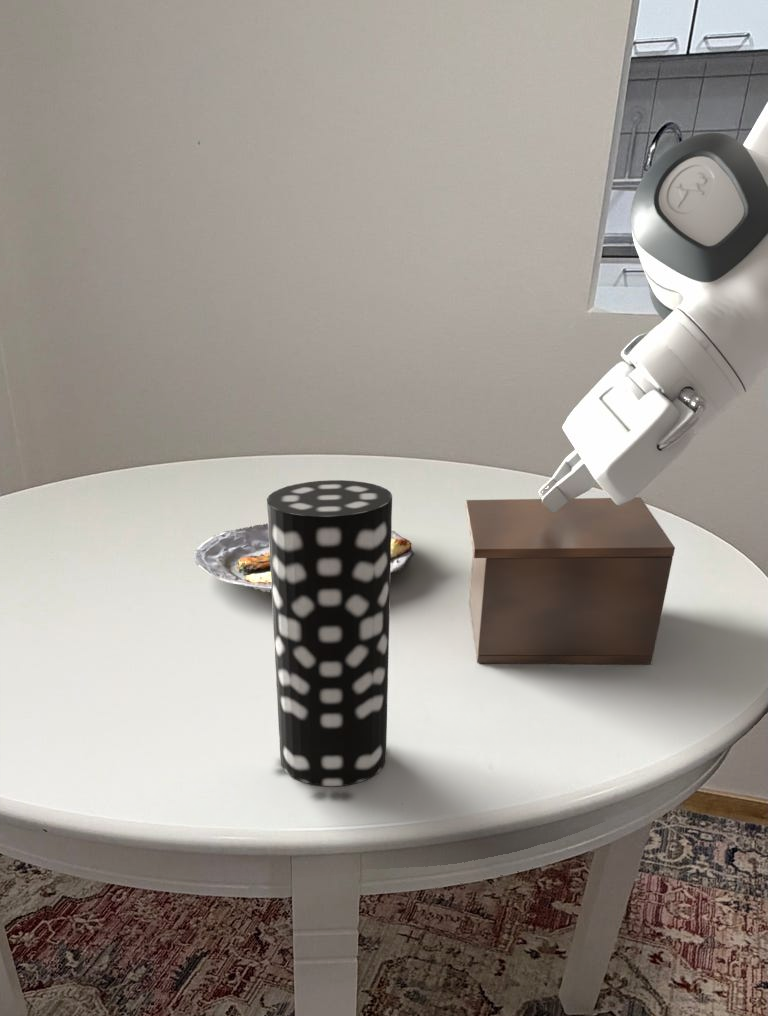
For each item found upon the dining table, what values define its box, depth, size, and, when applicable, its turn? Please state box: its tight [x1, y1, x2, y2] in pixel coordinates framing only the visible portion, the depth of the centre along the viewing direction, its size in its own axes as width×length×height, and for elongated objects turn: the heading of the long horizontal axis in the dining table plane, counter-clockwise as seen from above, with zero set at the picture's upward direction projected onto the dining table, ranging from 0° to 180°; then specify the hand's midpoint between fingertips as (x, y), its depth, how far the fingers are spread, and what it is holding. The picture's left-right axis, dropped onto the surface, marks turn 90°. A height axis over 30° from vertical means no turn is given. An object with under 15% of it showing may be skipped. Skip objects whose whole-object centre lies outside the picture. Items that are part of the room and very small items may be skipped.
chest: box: [468, 553, 674, 665], centre depth 90 cm, size 16×15×10 cm
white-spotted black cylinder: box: [266, 479, 393, 787], centre depth 69 cm, size 8×8×20 cm
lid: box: [465, 497, 676, 558], centre depth 87 cm, size 17×15×1 cm
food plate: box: [193, 523, 415, 593], centre depth 109 cm, size 25×23×4 cm
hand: (544, 503), depth 85 cm, fingers closed
